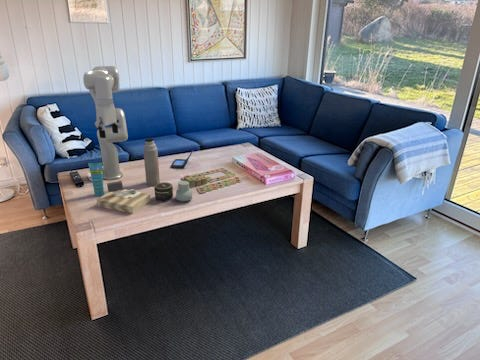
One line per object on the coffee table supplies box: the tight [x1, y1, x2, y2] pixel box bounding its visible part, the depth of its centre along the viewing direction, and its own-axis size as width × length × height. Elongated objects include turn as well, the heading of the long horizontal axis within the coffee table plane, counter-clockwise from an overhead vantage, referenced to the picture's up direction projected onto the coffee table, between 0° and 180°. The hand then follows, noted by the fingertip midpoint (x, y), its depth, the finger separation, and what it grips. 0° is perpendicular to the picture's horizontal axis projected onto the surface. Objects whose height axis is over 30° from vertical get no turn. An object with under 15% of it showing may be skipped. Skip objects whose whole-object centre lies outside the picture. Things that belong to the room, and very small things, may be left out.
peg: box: [106, 180, 135, 196], centre depth 199 cm, size 13×2×7 cm, turn 120°
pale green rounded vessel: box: [175, 180, 193, 202], centre depth 203 cm, size 11×8×10 cm
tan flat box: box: [96, 188, 151, 214], centre depth 199 cm, size 22×17×4 cm
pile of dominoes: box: [180, 167, 243, 195], centre depth 230 cm, size 35×27×6 cm
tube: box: [87, 162, 105, 197], centre depth 205 cm, size 7×5×19 cm, turn 103°
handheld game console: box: [170, 149, 194, 170], centre depth 253 cm, size 16×13×9 cm
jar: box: [153, 182, 174, 202], centre depth 205 cm, size 10×10×8 cm
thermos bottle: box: [143, 137, 161, 187], centre depth 219 cm, size 8×8×28 cm
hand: (109, 135), depth 190 cm, fingers open, 9 cm apart
